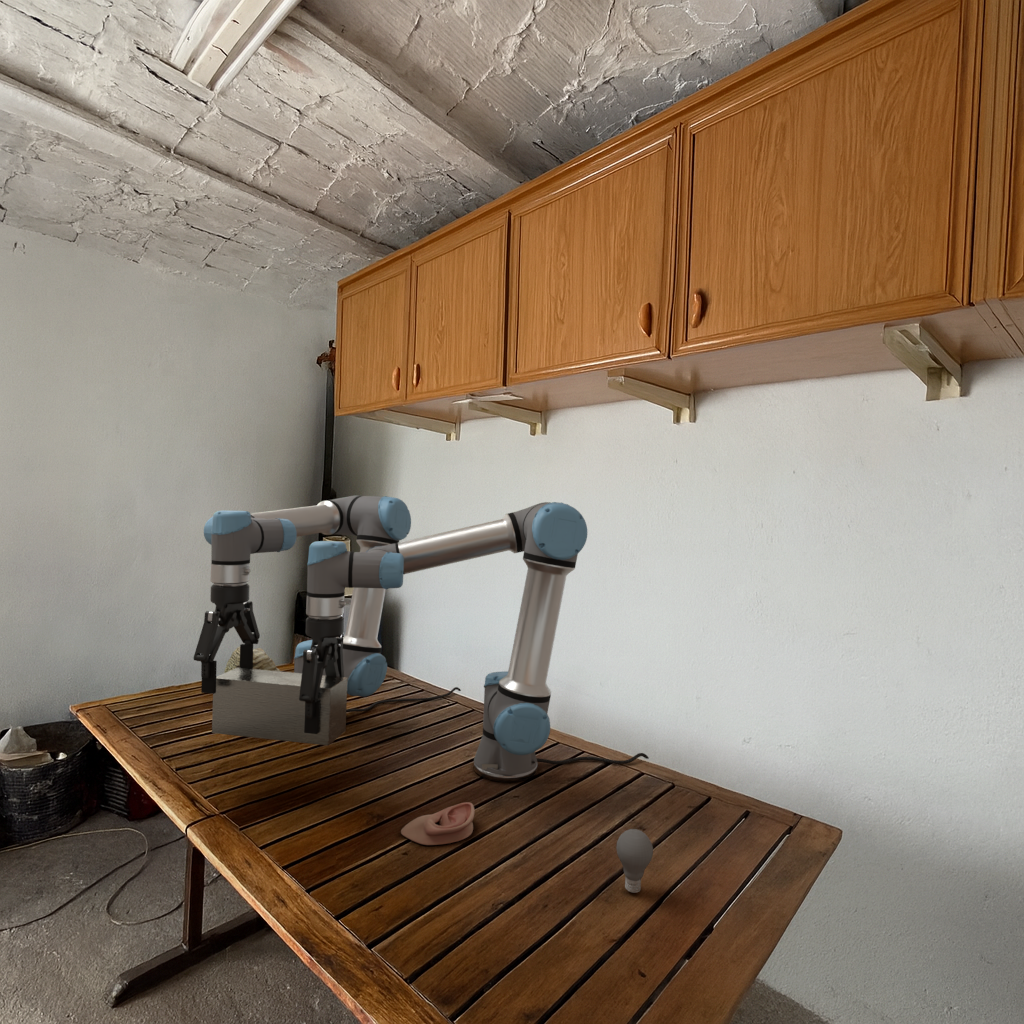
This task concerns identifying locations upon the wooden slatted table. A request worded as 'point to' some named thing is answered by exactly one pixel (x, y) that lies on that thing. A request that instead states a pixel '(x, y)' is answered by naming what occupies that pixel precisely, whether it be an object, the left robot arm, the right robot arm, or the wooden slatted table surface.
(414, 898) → the wooden slatted table surface
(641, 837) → the light bulb
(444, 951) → the wooden slatted table surface
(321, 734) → the box
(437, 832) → the anatomical model
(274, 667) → the fossil
